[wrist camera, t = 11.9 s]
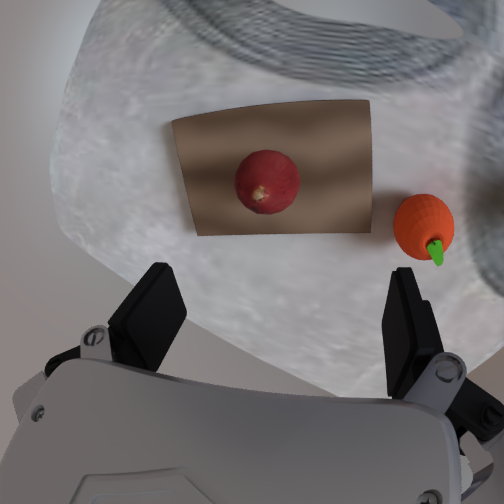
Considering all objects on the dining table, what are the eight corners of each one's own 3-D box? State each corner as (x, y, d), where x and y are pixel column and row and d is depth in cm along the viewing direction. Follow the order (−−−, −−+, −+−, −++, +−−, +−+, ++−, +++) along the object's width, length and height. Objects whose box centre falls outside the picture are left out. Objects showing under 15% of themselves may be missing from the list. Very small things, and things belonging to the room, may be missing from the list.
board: (179, 118, 29) (171, 120, 27) (366, 99, 24) (369, 100, 22) (203, 228, 36) (197, 236, 34) (368, 224, 31) (370, 232, 29)
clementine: (450, 230, 29) (472, 263, 23) (403, 255, 32) (417, 291, 26) (428, 174, 26) (454, 198, 20) (377, 201, 29) (390, 231, 24)
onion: (284, 208, 30) (272, 245, 23) (236, 181, 30) (209, 210, 23) (312, 162, 27) (310, 185, 20) (260, 133, 26) (240, 147, 20)
